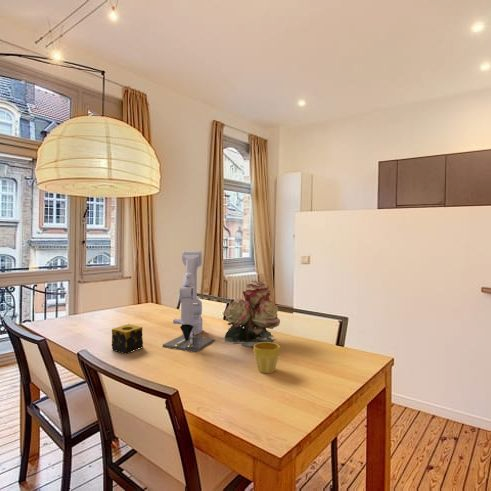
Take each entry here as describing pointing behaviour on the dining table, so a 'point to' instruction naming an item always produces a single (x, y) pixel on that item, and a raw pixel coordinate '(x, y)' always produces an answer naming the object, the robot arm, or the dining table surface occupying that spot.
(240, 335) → the rose bouquet
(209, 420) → the dining table surface
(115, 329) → the candle
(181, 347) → the plate
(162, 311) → the dining table surface
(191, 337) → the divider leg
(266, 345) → the plant pot
